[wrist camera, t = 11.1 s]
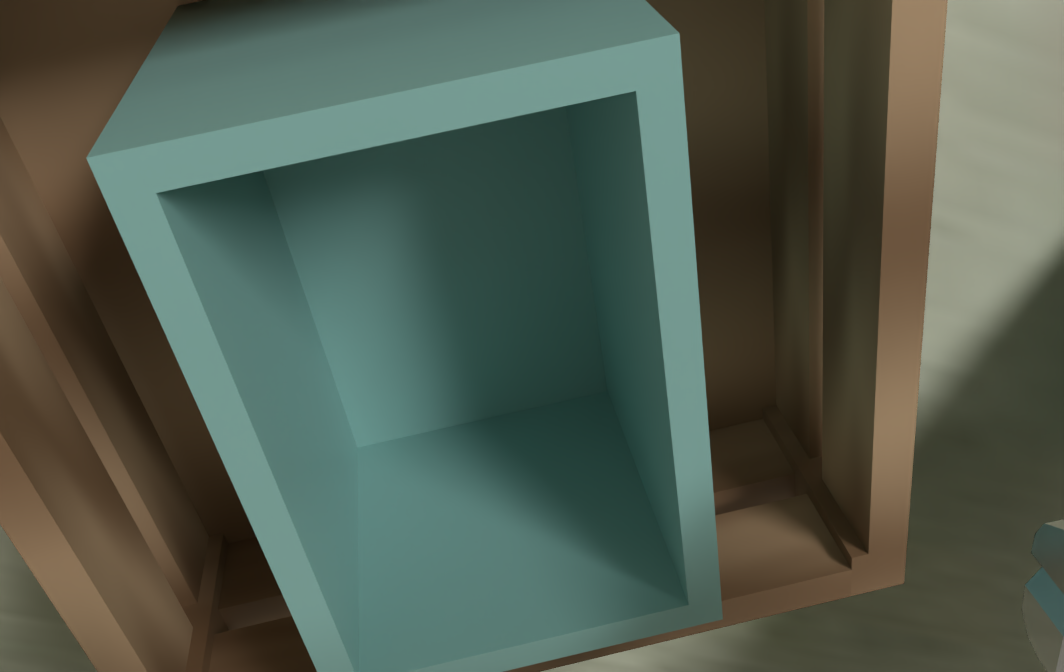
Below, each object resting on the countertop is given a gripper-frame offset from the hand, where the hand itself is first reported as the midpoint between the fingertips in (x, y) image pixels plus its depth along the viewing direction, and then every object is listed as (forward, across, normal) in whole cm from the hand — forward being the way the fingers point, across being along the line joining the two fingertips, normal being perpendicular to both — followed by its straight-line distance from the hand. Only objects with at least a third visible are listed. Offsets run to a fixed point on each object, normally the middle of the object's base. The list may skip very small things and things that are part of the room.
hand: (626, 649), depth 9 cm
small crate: (+9, +1, 0) cm, 9 cm away
